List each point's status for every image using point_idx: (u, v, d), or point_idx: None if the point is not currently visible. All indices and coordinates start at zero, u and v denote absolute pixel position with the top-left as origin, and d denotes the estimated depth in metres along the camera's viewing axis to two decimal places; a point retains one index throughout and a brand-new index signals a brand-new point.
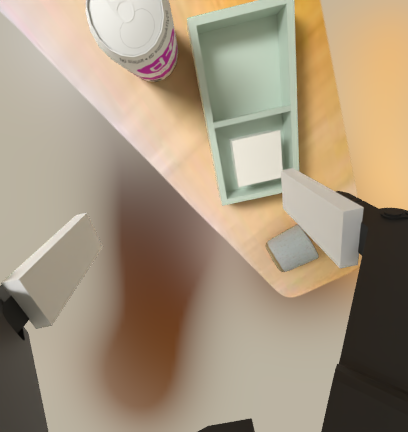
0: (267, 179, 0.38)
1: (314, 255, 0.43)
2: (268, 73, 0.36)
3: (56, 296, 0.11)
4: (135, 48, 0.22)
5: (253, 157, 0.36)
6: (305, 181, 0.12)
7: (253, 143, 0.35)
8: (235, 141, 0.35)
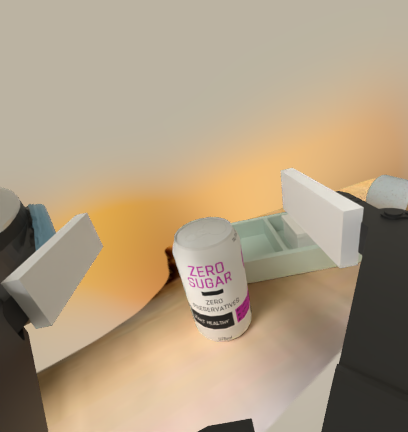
0: None
1: (386, 175, 0.47)
2: (243, 242, 0.48)
3: (56, 296, 0.11)
4: (226, 227, 0.27)
5: None
6: (305, 181, 0.12)
7: (295, 224, 0.41)
8: (296, 232, 0.39)
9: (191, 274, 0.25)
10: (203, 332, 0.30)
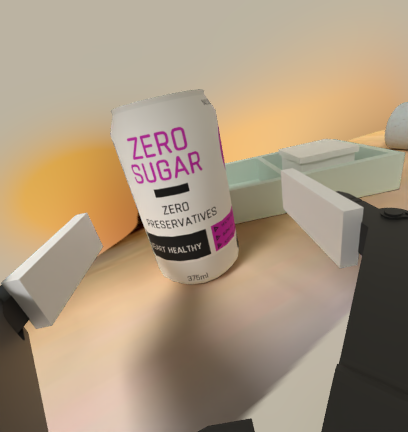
0: (334, 141, 0.33)
1: None
2: (232, 188, 0.38)
3: (56, 296, 0.11)
4: None
5: (313, 149, 0.31)
6: (305, 181, 0.12)
7: (297, 152, 0.32)
8: (299, 157, 0.29)
9: (135, 157, 0.15)
10: (166, 271, 0.20)
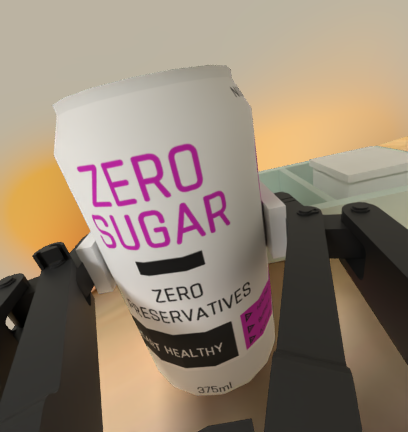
0: (386, 149, 0.25)
1: None
2: None
3: None
4: None
5: (360, 161, 0.24)
6: None
7: (338, 165, 0.24)
8: (346, 173, 0.21)
9: (97, 203, 0.08)
10: (162, 370, 0.12)
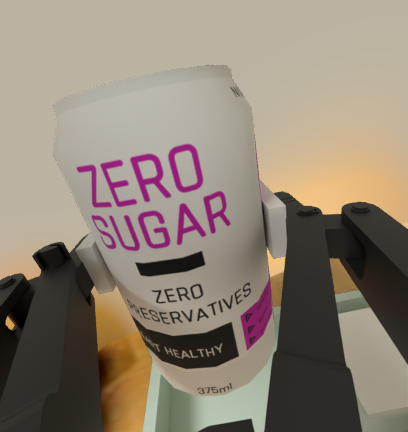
0: None
1: None
2: None
3: None
4: None
5: (380, 359, 0.18)
6: None
7: (351, 361, 0.18)
8: (364, 403, 0.16)
9: (96, 203, 0.07)
10: (162, 371, 0.12)
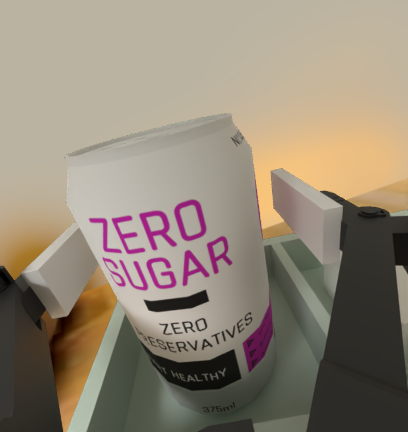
0: None
1: None
2: None
3: (71, 288, 0.11)
4: None
5: None
6: (292, 181, 0.12)
7: None
8: None
9: (107, 249, 0.08)
10: (169, 389, 0.13)
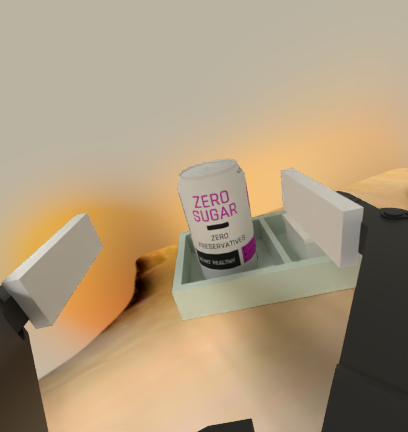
0: None
1: None
2: None
3: (56, 296, 0.11)
4: (230, 163, 0.26)
5: None
6: (305, 181, 0.12)
7: None
8: (303, 237, 0.27)
9: (196, 206, 0.25)
10: (209, 276, 0.30)
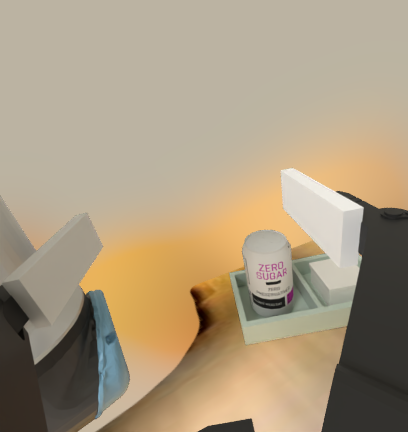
0: None
1: None
2: None
3: (56, 296, 0.11)
4: (281, 238, 0.38)
5: (337, 274, 0.42)
6: (305, 181, 0.12)
7: (325, 276, 0.42)
8: (328, 287, 0.40)
9: (260, 270, 0.37)
10: (261, 312, 0.42)
